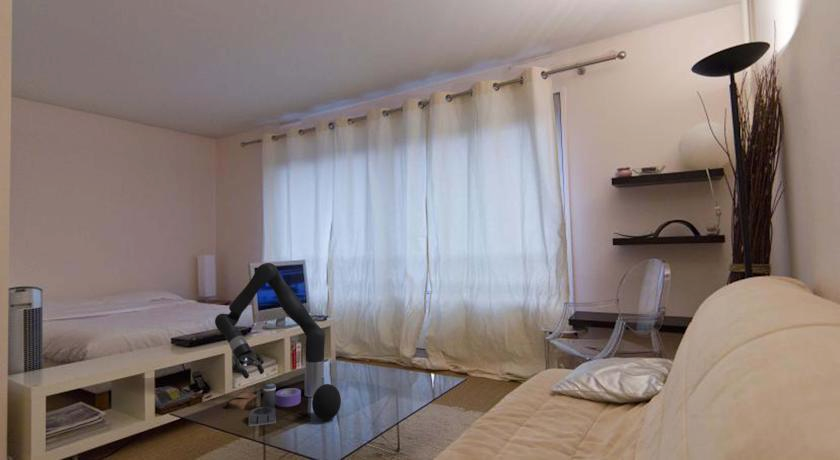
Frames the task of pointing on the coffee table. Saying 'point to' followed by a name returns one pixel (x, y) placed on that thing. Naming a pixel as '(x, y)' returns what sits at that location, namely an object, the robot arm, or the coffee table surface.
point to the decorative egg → (326, 402)
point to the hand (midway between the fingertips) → (255, 375)
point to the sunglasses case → (241, 400)
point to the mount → (262, 416)
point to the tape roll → (288, 397)
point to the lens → (269, 395)
